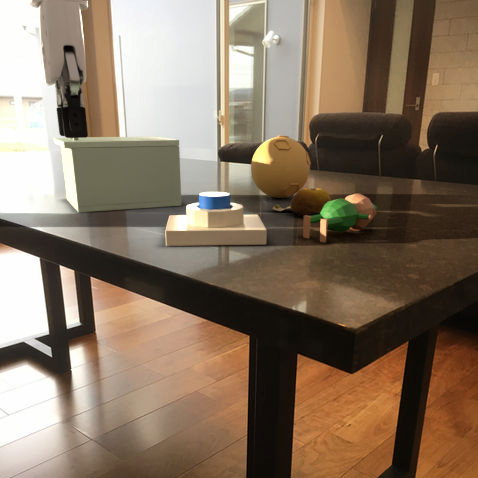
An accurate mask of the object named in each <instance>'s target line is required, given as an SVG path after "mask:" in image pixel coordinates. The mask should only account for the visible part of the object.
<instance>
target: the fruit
mask: <svg viewBox="0 0 478 478" xmlns="http://www.w3.org/2000/svg"><path fill="white" fill-rule="evenodd" d="M329 201H332V198H331V195H330V193H329V192H328V191H327V190H326V189H324V188H322V187H321V188H320V187H317V188H309V187H305V188H301V189H300V190H299V191H298V192H297V193H295V194H294V195H293V198H292V199H291V200H290V203H289V206H287V207H284V208H283V207H281V205H280V204H275V206H273V207H272V208H271V209H272V210H274V211H277V212H283V211H286V210H288V209H291V211H292V213H293V214H295V215H296V216H297V217H299V218H304V216H305V215H307V216H313V215H317V214H320V212H321V210H322V209H323V207H324V205H325V204H326V203H327V202H329Z"/></svg>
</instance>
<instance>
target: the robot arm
mask: <svg viewBox="0 0 478 478" xmlns="http://www.w3.org/2000/svg"><path fill="white" fill-rule="evenodd" d="M88 3H89V2H88V0H29V6H31V7H33V8H35V9H38V28H39V40H40V49H41V58H42V59H41V60H42V69H43V81H44V84H46V86H53V85H54V87H55V98H56V117H57V127H58V133H59V136H61V137H64V138H86V137H89V132H88V122H87V111H86V107H85V100H84V99H85V98H84V92H83V85H84V84H85V83H86V82H87V75H88V74H87V73H88V72H87V59H86V58H87V57H86V48H85V38H84V30H83V19H82V13H81V11H85V10H88V8H89V4H88Z"/></svg>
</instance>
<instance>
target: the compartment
mask: <svg viewBox="0 0 478 478" xmlns="http://www.w3.org/2000/svg"><path fill="white" fill-rule="evenodd" d="M60 153H61V161H62V170H63V177H64V186H65V195H66V200H67V201H68V202H69V203H70V205H71V206H72V207H73V208H74V209H75V210H76V212H77V213H90V212H91V213H93V212H105V211H107V212H108V211H120V210H133V209H135V210H136V209H151V208H163V207H165V208H166V207H178V206H180V207H181V206H182V184H181V183H182V181H181V180H182V179H181V158H180V157H181V156H180V155H181V154H180V145H179V146H141V147H95V148H63V147H61V146H60Z"/></svg>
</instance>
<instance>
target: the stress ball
mask: <svg viewBox="0 0 478 478" xmlns="http://www.w3.org/2000/svg"><path fill="white" fill-rule="evenodd" d="M311 161H312V160H311V157H310V154H309V152H308V151H307V150H306V149H305V148H304V146H303V145H302V144H301V142H298V141H297V140H295V139H293V138H291V137H290V136H288V135H277V136H276V137H272V138H270V139H267V140H265V141H263V142H262V143H261V144H260V145H259V147H257V149H256V150H255V152H254V154H253V156H252V159H251V163H250V172H251V177H252V180H253V183H254V184H255V186H256V187H257V188H258V190H259V191H261V192H262V193H263V194H265V195H266V196H269V197H271V198H275V199H284V198H289V197H292V196H295V195H296V194H297V193H298V192H299V191H300V190H302V189H303V187H304V186H305V184H306V183H307V181H308V179H309V176H310V172H311V165H312V162H311Z"/></svg>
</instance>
